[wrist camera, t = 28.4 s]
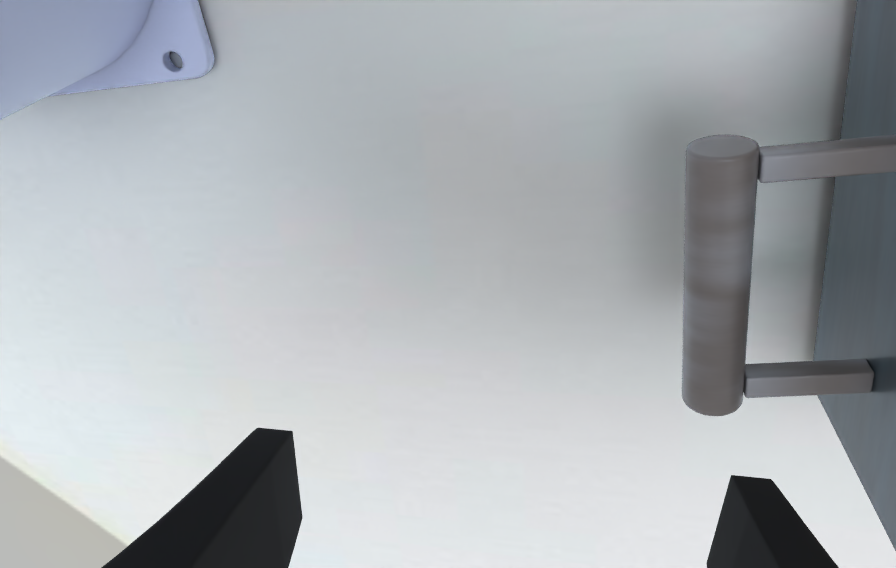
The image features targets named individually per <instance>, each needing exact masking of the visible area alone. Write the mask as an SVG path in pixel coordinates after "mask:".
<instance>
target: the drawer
mask: <svg viewBox="0 0 896 568" xmlns="http://www.w3.org/2000/svg"><path fill="white" fill-rule="evenodd" d="M828 177H836V178H835V187H834V195H833V203H832V211H831V220H830V228H829V236H828V244H827V252H826V261H825V269H824V277H823V285H822V294H821V302H820V310H819V318H818V326H817V335H816V343H815V351H814V359H813V361H803V362H782V363H761V364H745V360H746V345H747V330H748V315H749V300H750V285H751V270H752V255H753V240H754V225H755V210H756V195H757V180H759V181H760V182H761V183H770V182H781V181H793V180H805V179H816V178H828ZM743 392H744V395H745V397H746V398H756V397H780V396H805V395H817V396H818V398H819V399H820V401H821V403H822V405H823V407H824V409H825V411H826V413H827V415H828V417H829V419H830V421H831V423H832V425H833V427H834V429H835V431H836V433H837V435H838V437H839V439H840V441H841V443H842V445H843V447H844V449H845V451H846V453H847V455H848V457H849V459H850V461H851V463H852V465H853V467H854V469H855V471H856V473H857V475H858V477H859V479H860V481H861V483H862V485H863V487H864V489H865V491H866V493H867V495H868V497H869V499H870V501H871V503H872V505H873V507H874V509H875V511H876V513H877V515H878V517H879V519H880V521H881V523H882V525H883V527H884V529H885V531H886V533H887V535H888V537H889V539H890V541H891V543H892V545H893V547H894V549H895V551H896V0H857V6H856V14H855V22H854V31H853V39H852V47H851V55H850V63H849V72H848V80H847V88H846V96H845V104H844V113H843V121H842V129H841V137H840V140H831V141H820V142H810V143H799V144H788V145H777V146H767V147H759V145H758V143H757V142H756V141H754V140H752V139H750V138H747V137H742V136H736V135H714V136H708V137H703V138H700V139H697V140H694V141H693V142H691V143H690V144H689V145H688V146H687V148H686V168H685V232H684V295H683V359H682V398H683V400H684V402H685V404H686V405H687V406H688V407H689V408H690V409H692V410H693V411H695V412H697V413H700V414H703V415H708V416H723V415H727V414H730V413H733V412H735V411H736V410H737V409H738V408H739V407H740V406H741V404H742V401H743Z"/></svg>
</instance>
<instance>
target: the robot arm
mask: <svg viewBox="0 0 896 568" xmlns="http://www.w3.org/2000/svg"><path fill="white" fill-rule="evenodd" d="M171 51H172V52H175V53H177V54H178V55H179V56H180V57H181V59H182V63H183V66H182V68H178V67H176V66H175V65H173V64H172V62H171V60H170V55H169V54H170V52H171ZM213 65H214V53H213V50H212V47H211V43H210V40H209V36H208V33H207V29H206V26H205V23H204V19H203V16H202V12H201V9H200V5H199V2H198V0H0V120H1V119H3V118H5V117H7V116H9V115H11V114H13V113H15V112H17V111H19V110H21V109H23V108H25V107H27V106H29V105H31V104H33V103H35V102H37V101H39V100H41V99H43V98H45V97H47V96H55V95H63V94H72V93H80V92H88V91H96V90H104V89H112V88H121V87H129V86H137V85H145V84H153V83H161V82H170V81H178V80H186V79H194V78H199V77H202V76H204V75H206V74H207V73H208V72H209V71H210V70H211V69H212V68H213ZM301 521H302V510H301V502H300V493H299V484H298V476H297V467H296V458H295V449H294V441H293V432H292V431H285V430H275V429H265V428H257V429H256V430H254V431H253V432H252V433H251V434H250V435H249V436H248V437H247V438H246V439H245V440H244V441H243V442H242V443H240V444H239V445H238V446H237V447H236V448H235V449H234V450H233V451H232V452H231V453H230V454H229V455H228V456H227V457H226V458H225V459H224V460H223V461H222V462H221V463H220V464H219V465H218V466H217V467H216V468H215V469H214V470H213V471H212V472H211V473H210V474H209V475H208V476H206V477H205V478H204V479H203V480H202V481H201V482H200V483H199V484H198V485H197V486H196V487H195V488H194V489H193V490H192V491H190V492H189V493H188V494H187V495H186V496H185V497H184V498H183V499H182V500H181V501H180V502H178V503H177V504H176V505H175V506H174V507H173V508H172V509H171V510H170V511H169V512H168V513H166V514H165V515H164V516H163V517H162V518H161V519H160V520H159V521H157V522H156V523H155V524H154V525H153V526H152V527H150V528H149V529H148V530H147V531H146V532H144V533H143V534H142V535H141V536H140V537H138V538H137V539H136V540H135V541H134V542H132V543H131V544H130V545H129V546H128V547H127V548H125V549H124V550H123V551H122V552H121V553H119V554H118V555H117V556H116V557H114V558H113V559H112V560H111V561H109V562H108V563H107V564H106V565H104V566H103V567H102V568H288V566H289V563H290V560H291V556H292V553H293V550H294V546H295V542H296V539H297V535H298V531H299V528H300V524H301ZM707 568H839V567H838V566H837V565H836V564H835V562H834V561H833V560H832V559H831V557H830V556H829V555H828V553H827V552H826V551H825V549H824V548H823V547H822V546H821V544H820V543H819V542H818V540H817V539H816V538H815V536H814V535H813V534H812V532H811V531H810V530H809V529H808V527H807V526H806V525H805V523H804V522H803V521H802V519H801V518H800V517H799V515H798V514H797V512H796V511H795V510H794V508H793V507H792V506H791V504H790V503H789V502H788V500H787V499H786V498H785V496H784V495H783V494H782V492H781V491H780V490H779V488H778V487H777V486H776V485H775V483H774V482H773V481H772V480H771V479H764V478H754V477H744V476H734V475H731V478H730V481H729V485H728V489H727V492H726V496H725V499H724V503H723V506H722V510H721V514H720V517H719V521H718V524H717V528H716V532H715V535H714V539H713V542H712V546H711V549H710V553H709V557H708V560H707Z"/></svg>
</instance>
